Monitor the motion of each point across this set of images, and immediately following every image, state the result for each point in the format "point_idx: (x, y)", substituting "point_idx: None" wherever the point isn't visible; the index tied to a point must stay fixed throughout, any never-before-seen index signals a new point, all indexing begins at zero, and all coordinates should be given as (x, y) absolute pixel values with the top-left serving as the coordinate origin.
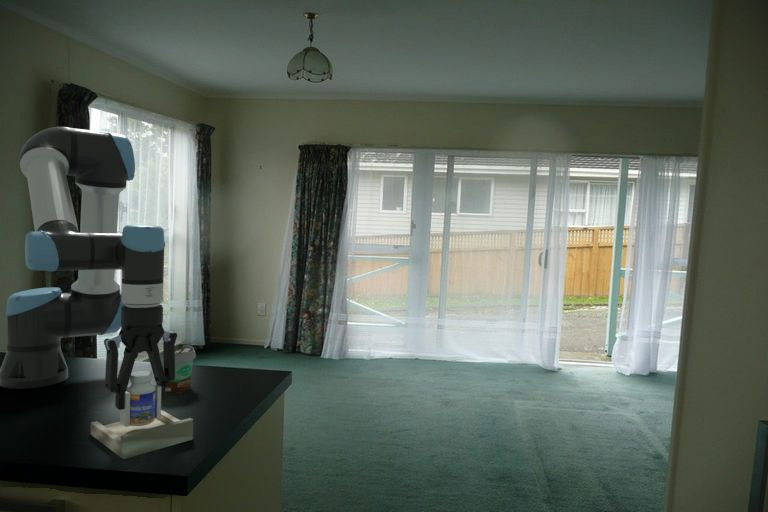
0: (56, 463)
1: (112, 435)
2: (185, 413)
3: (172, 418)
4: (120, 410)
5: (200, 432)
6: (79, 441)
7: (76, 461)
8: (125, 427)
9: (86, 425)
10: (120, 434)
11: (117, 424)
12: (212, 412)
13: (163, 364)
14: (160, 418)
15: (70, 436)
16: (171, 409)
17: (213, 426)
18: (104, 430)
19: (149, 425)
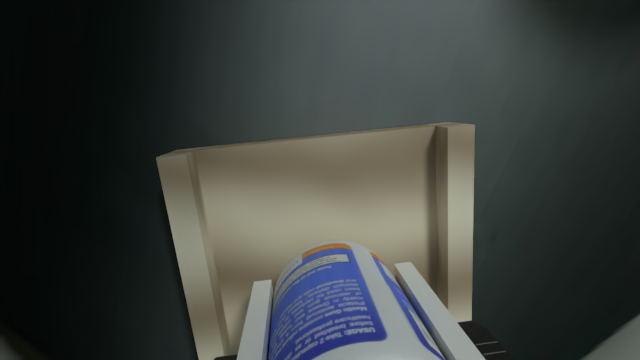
0: (38, 339)
1: (207, 347)
2: (559, 132)
3: (458, 295)
4: (246, 324)
5: (495, 335)
6: (128, 195)
7: (99, 354)
8: (293, 219)
9: (180, 24)
10: (256, 278)
11: (275, 168)
12: (635, 182)
13: None
14: (438, 210)
15: (101, 121)
16: (545, 46)
17: (554, 310)
18: (191, 281)
19: (375, 250)
